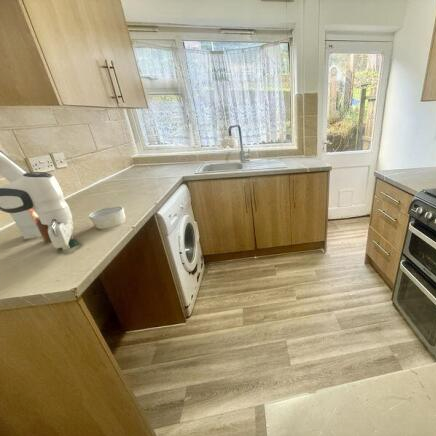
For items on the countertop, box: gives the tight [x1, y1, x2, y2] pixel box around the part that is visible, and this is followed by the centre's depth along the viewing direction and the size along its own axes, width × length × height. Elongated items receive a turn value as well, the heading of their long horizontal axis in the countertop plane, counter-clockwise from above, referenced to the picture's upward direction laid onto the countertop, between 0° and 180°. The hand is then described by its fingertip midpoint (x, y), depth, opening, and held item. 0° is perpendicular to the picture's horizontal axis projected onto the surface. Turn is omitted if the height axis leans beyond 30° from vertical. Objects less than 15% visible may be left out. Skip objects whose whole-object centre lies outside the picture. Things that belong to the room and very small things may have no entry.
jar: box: [35, 217, 52, 243], centre depth 99 cm, size 6×6×11 cm
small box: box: [9, 209, 42, 240], centre depth 104 cm, size 8×6×13 cm
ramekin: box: [88, 205, 127, 230], centre depth 113 cm, size 13×13×7 cm
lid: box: [57, 238, 80, 251], centre depth 95 cm, size 6×6×2 cm
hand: (70, 248), depth 96 cm, fingers closed on lid, 6 cm apart
